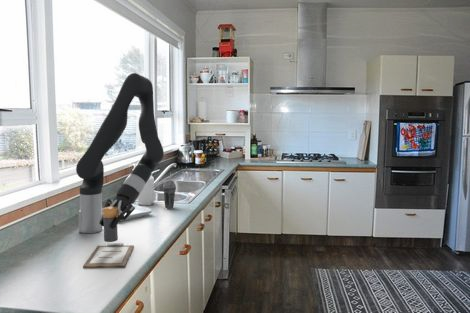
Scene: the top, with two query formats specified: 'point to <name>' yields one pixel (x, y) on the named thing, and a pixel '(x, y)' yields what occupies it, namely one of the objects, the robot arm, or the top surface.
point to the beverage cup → (169, 193)
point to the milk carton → (147, 193)
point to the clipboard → (109, 256)
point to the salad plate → (137, 212)
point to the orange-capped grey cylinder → (108, 216)
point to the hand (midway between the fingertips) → (106, 226)
